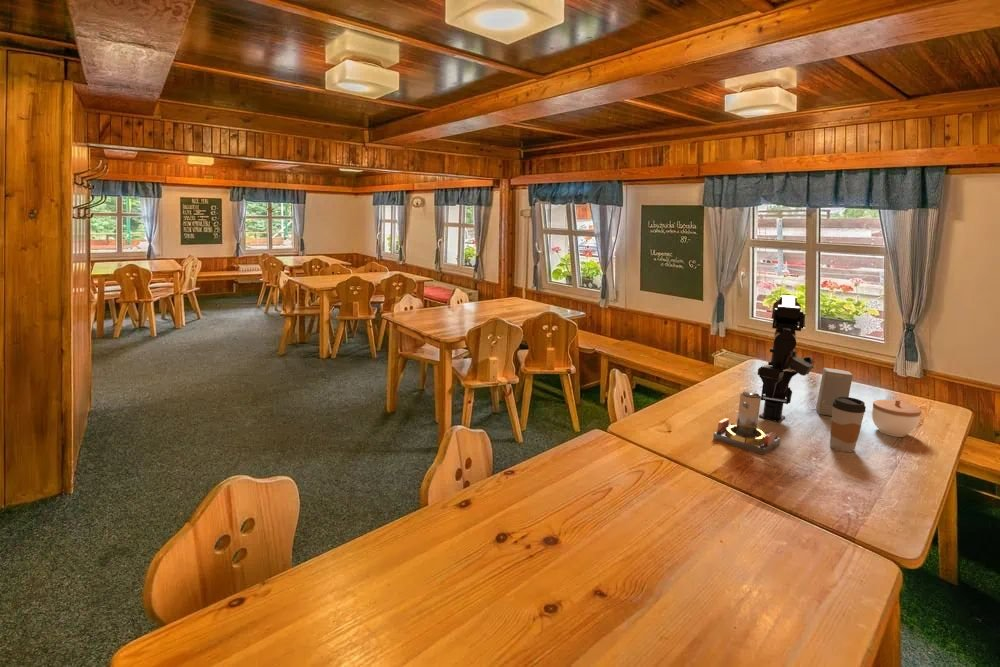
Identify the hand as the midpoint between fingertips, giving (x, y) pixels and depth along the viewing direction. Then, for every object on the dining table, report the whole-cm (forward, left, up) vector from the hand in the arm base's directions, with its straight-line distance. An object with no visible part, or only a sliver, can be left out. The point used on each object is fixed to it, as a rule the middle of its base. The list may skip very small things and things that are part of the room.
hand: (776, 395), depth 167 cm
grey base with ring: (+12, -3, -13) cm, 18 cm away
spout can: (+14, -3, -11) cm, 18 cm away
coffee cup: (-6, +18, -13) cm, 23 cm away
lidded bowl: (-33, +25, -13) cm, 44 cm away
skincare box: (-37, +6, -13) cm, 40 cm away
